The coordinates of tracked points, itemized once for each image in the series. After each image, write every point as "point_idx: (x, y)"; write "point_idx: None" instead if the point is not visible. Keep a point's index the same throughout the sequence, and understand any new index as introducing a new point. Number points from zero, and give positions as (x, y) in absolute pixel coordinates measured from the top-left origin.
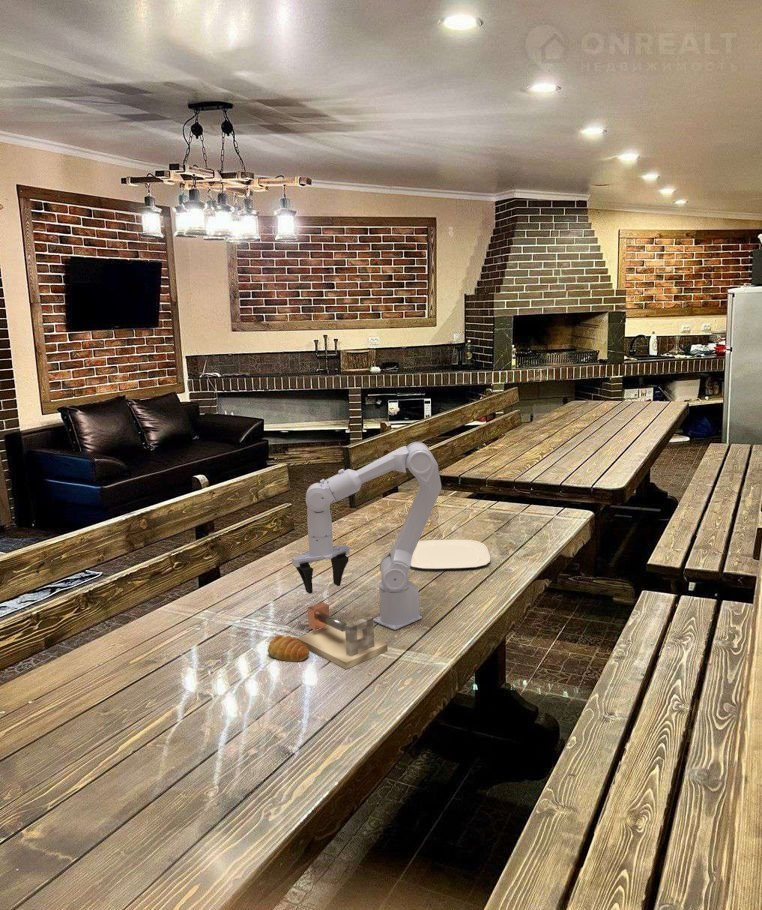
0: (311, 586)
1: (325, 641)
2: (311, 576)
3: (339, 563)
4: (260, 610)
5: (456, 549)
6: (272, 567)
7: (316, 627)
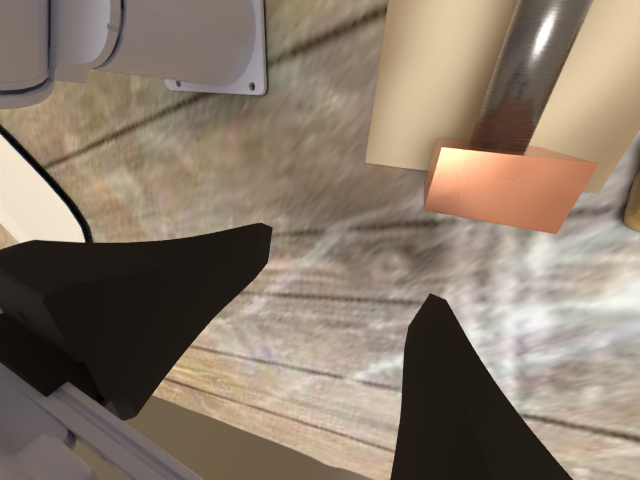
0: (447, 325)
1: (586, 38)
2: (473, 407)
3: (123, 294)
4: (399, 384)
5: (14, 210)
6: (254, 416)
7: (531, 146)
